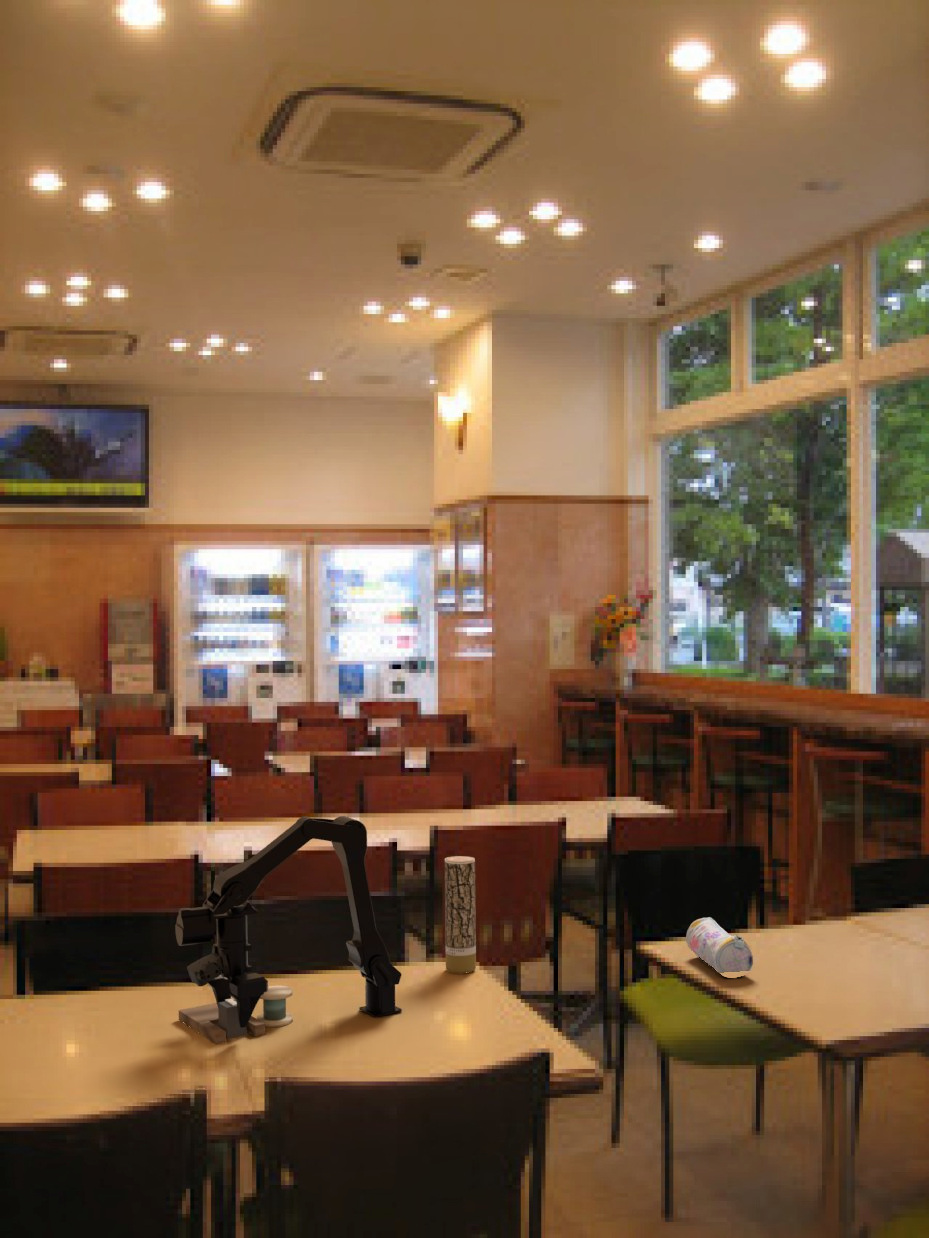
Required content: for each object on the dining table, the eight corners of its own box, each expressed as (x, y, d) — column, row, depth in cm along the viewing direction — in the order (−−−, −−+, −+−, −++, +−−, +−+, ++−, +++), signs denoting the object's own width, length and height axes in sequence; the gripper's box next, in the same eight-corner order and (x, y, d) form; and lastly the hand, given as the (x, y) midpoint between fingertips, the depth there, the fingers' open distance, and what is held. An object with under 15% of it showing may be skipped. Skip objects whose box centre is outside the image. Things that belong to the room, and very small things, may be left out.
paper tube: (472, 975, 282) (471, 862, 282) (442, 974, 283) (441, 861, 283) (478, 967, 289) (477, 856, 289) (449, 965, 290) (448, 855, 290)
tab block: (246, 1035, 242) (246, 1002, 242) (227, 1039, 240) (226, 1006, 240) (238, 1030, 246) (237, 997, 246) (218, 1033, 244) (218, 1000, 244)
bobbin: (298, 1022, 250) (298, 991, 250) (266, 1029, 246) (266, 998, 246) (282, 1013, 256) (282, 983, 256) (250, 1020, 252) (250, 989, 252)
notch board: (265, 1034, 243) (265, 1023, 243) (216, 1044, 237) (216, 1033, 237) (225, 1010, 258) (225, 1001, 258) (178, 1020, 252) (178, 1010, 252)
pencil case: (755, 979, 277) (754, 936, 277) (717, 982, 275) (716, 938, 275) (719, 955, 297) (719, 914, 298) (684, 957, 296) (683, 916, 296)
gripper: (173, 936, 246) (174, 1017, 246) (212, 956, 231) (213, 1042, 231) (226, 927, 253) (227, 1006, 253) (268, 946, 237) (269, 1030, 237)
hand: (233, 1021), depth 243 cm, fingers open, 9 cm apart
